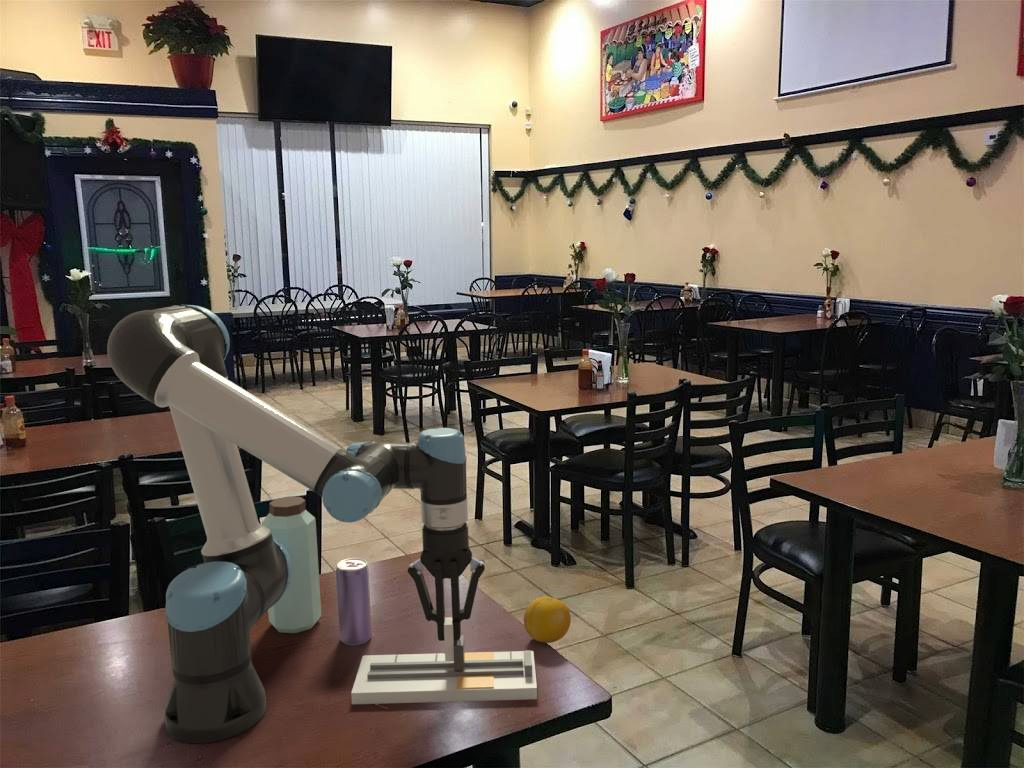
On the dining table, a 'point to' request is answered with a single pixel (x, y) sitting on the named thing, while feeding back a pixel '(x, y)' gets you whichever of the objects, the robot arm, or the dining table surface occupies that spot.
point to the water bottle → (296, 565)
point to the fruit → (547, 619)
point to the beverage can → (353, 601)
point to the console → (445, 678)
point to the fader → (459, 654)
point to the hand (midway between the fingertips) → (450, 656)
